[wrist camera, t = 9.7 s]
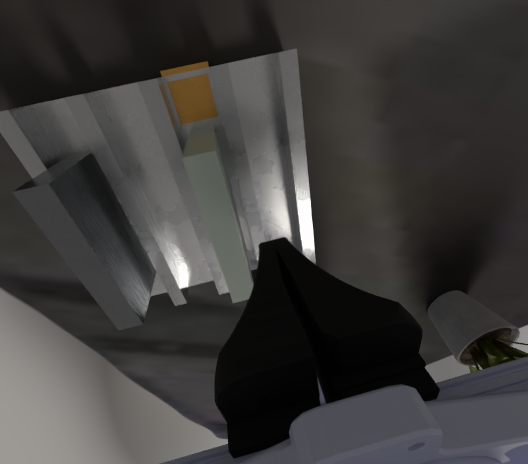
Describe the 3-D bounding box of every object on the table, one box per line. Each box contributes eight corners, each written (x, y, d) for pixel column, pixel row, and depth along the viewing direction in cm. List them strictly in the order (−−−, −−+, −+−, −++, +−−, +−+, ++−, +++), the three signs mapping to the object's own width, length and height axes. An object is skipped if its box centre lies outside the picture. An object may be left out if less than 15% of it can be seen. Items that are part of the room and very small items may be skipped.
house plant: (522, 239, 30) (779, 381, 17) (498, 313, 38) (661, 453, 24) (403, 280, 30) (560, 455, 17) (403, 346, 38) (511, 503, 24)
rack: (305, 249, 25) (334, 304, 20) (138, 292, 25) (116, 362, 19) (283, 45, 17) (323, 34, 11) (18, 101, 16) (-94, 122, 10)
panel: (246, 246, 23) (256, 297, 18) (227, 250, 23) (233, 303, 18) (213, 125, 17) (215, 150, 12) (189, 131, 17) (181, 158, 12)
